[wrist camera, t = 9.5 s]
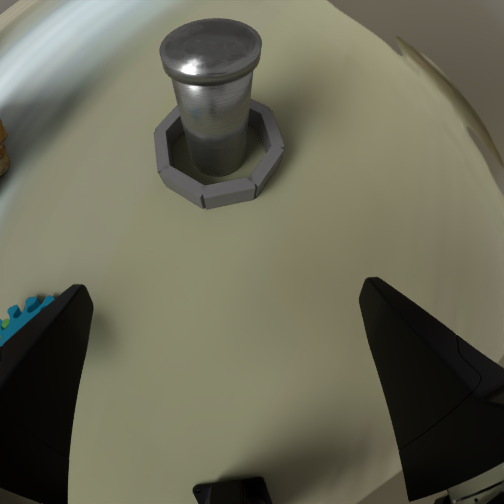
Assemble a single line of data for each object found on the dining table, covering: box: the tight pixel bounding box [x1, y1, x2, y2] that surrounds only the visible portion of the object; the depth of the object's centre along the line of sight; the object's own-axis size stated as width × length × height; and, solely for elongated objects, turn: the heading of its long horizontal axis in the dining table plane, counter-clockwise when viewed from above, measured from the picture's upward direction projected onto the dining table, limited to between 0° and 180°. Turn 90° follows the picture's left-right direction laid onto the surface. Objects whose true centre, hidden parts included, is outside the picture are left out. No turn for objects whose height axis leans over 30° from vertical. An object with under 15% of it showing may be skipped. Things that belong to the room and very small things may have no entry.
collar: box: [154, 99, 285, 209], centre depth 23 cm, size 10×10×2 cm
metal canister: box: [160, 18, 262, 177], centre depth 18 cm, size 5×5×12 cm
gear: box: [0, 295, 54, 346], centre depth 17 cm, size 11×6×10 cm
